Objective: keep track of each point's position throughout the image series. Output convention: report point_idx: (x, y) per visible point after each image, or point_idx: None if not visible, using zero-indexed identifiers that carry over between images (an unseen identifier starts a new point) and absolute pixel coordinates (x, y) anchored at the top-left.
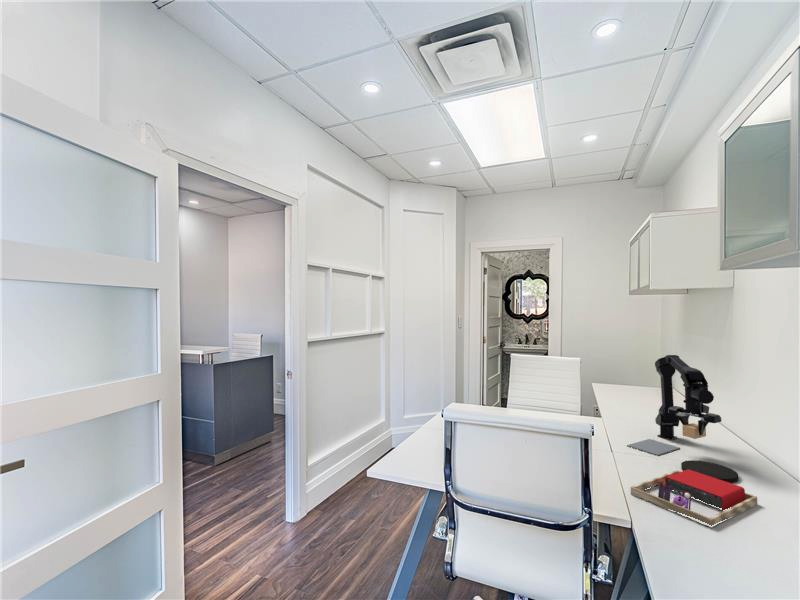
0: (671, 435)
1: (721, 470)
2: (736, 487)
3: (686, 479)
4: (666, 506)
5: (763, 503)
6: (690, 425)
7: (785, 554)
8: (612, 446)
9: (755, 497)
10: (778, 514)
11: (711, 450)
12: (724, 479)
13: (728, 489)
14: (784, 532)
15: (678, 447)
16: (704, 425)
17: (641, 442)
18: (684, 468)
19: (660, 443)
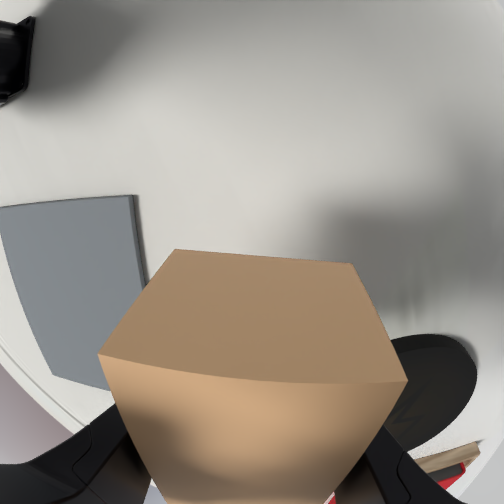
0: (9, 64)
1: (432, 397)
2: (452, 481)
3: None
4: None
5: (486, 430)
6: (207, 488)
7: (466, 484)
8: (55, 398)
9: (476, 456)
10: (494, 438)
11: (263, 19)
12: (435, 433)
13: None
14: (481, 463)
15: (123, 205)
16: (407, 499)
17: (27, 301)
18: None
19: (46, 231)
